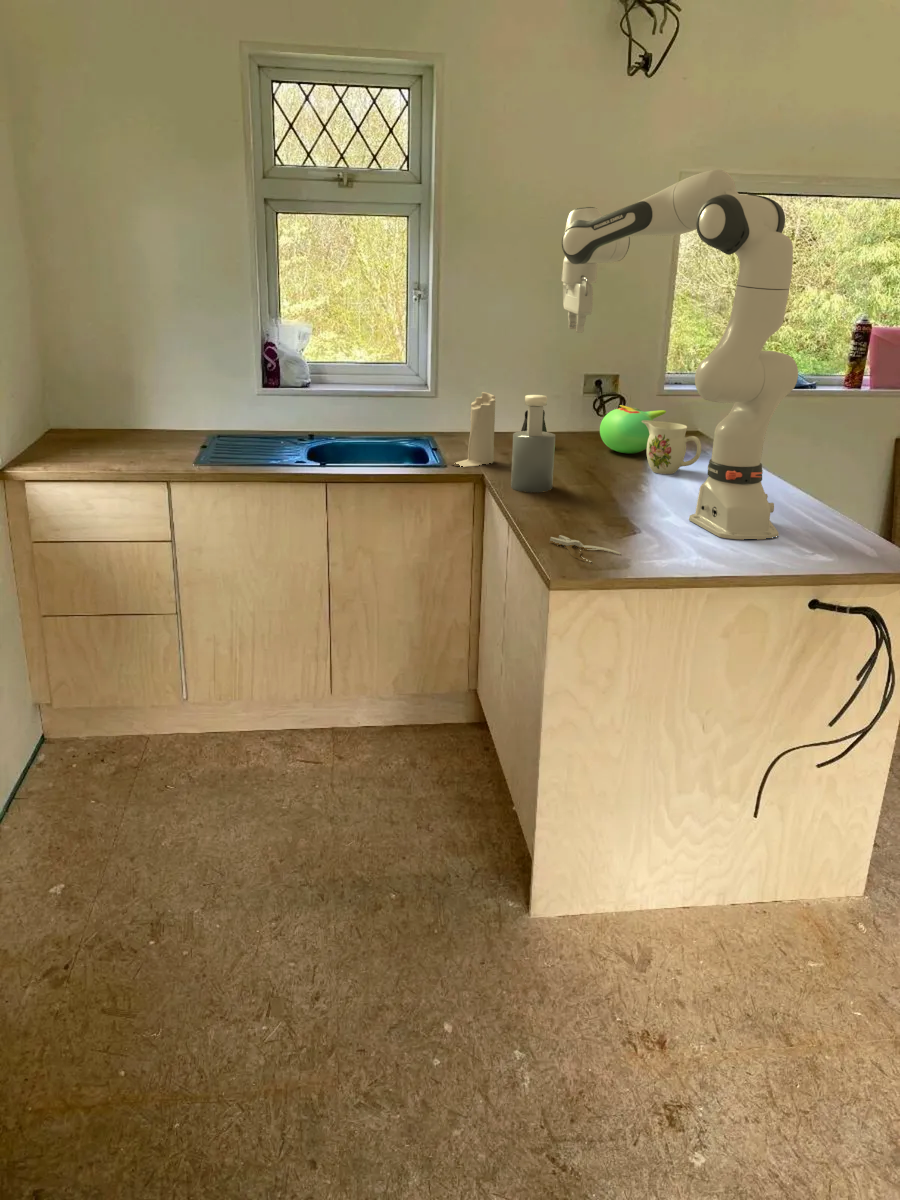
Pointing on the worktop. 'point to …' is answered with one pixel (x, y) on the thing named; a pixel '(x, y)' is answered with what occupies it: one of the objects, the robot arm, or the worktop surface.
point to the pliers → (578, 544)
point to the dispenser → (533, 455)
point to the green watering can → (627, 429)
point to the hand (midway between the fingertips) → (575, 330)
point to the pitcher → (668, 446)
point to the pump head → (535, 400)
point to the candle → (481, 431)
